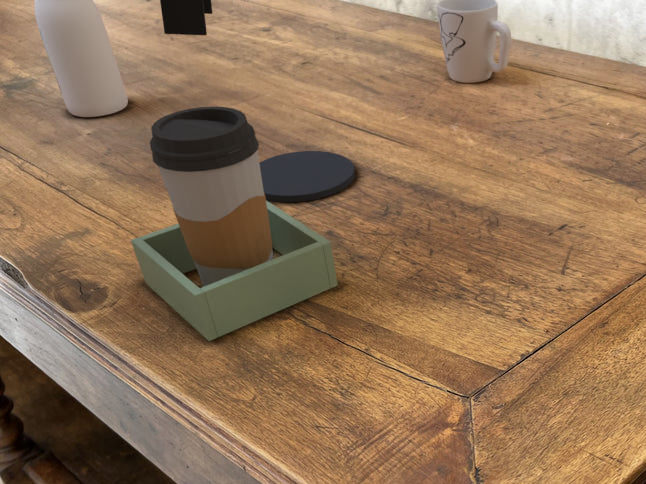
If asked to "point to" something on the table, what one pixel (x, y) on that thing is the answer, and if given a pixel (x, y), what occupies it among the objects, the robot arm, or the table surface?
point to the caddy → (238, 276)
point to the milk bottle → (81, 56)
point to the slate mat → (305, 175)
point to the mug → (472, 39)
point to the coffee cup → (214, 188)
